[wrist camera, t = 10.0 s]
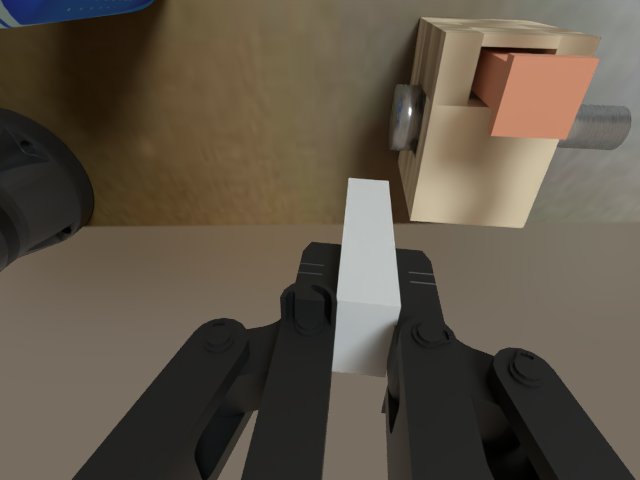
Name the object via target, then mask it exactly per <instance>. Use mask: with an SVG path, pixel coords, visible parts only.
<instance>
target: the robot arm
mask: <svg viewBox="0 0 640 480" xmlns="http://www.w3.org/2000/svg"><path fill="white" fill-rule="evenodd" d="M93 204H94V199H93V192H92V188H91V185H90V182H89V179H88V177H87V175H86V173H85V171H84V169H83V168H82V166H81V164H80V163H79V161H78V160H77V159H76V157H75V156H74V155H73V154H72V152H71V151H70V150H69V149H68V148H67V147H66V146H65V145H64V144H63V143H62V142H61V141H60V140H59V139H58V138H57V137H56V136H54V135H53V134H52V133H51V132H49V131H48V130H47V129H45V128H44V127H42V126H41V125H39V124H38V123H36V122H34V121H32V120H31V119H29V118H27V117H25V116H22V115H20V114H18V113H15V112H12V111H9V110H6V109H2V108H0V271H2V270H3V269H4V268H5V267H7V266H8V265H9V264H10V263H11V262H13V261H14V260H16V259H17V258H19V257H22V256H24V255H27V254H30V253H33V252H35V251H38V250H41V249H43V248H46V247H49V246H51V245H54V244H57V243H60V242H62V241H64V240H66V239H68V238H70V237H71V236H72V235H74V234H75V233H76V232H77V231H78V230H79V229H81V228H82V227H83V226H84V225H85V224H86V223H87V222H88V220H89V219H90V217H91V214H92V211H93ZM435 283H436V282H435V278H434V275H433V269H432V264H431V261H430V260H429V259H428V257H427V256H426V255H425V254H424V253H423V251H419V250H407V249H397V248H395V241H394V231H393V221H392V211H391V201H390V191H389V181H382V180H369V179H356V178H349V181H348V191H347V201H346V210H345V220H344V230H343V239H342V245H339V244H329V243H318V242H311V243H310V244H309V245H308V246H307V247H306V249H305V250H304V251H303V254H302V258H301V262H300V266H299V270H298V274H297V278H296V282H295V283H294V284H292V285H290V286H289V287H287V288H286V289H285V290H284V292H283V293H282V295H281V297H280V302H281V319H280V320H279V321H277V322H275V323H273V324H271V325H267V326H264V327H258V328H252V329H246V328H245V327H244V326H243V324H241V323H240V322H238V321H236V320H234V319H227V318H221V319H215V320H211V321H209V322H207V323H205V324H203V325H201V326H200V327H199V328H198V329H197V330H196V331H195V332H194V333H193V334H192V335H191V337H190V338H189V339H188V340H187V341H186V343H185V344H184V345H183V346H182V347H181V348H180V350H179V351H178V352H177V353H176V355H175V356H174V357H173V358H172V359H171V360H170V362H169V363H168V364H167V365H166V367H165V368H164V369H163V370H162V371H161V373H160V374H159V375H158V376H157V377H156V379H155V380H154V381H153V382H152V384H151V385H150V386H149V387H148V388H147V389H146V391H145V392H144V393H143V394H142V395H141V397H140V398H139V399H138V400H137V401H136V403H135V404H134V405H133V406H132V408H131V409H130V410H129V411H128V412H127V414H126V415H125V416H124V417H123V418H122V420H121V421H120V422H119V423H118V424H117V426H116V427H115V428H114V429H113V430H112V432H111V433H110V434H109V435H108V436H107V438H106V439H105V440H104V441H103V442H102V444H101V445H100V446H99V447H98V448H97V450H96V451H95V452H94V453H93V455H92V456H91V457H90V458H89V459H88V461H87V462H86V463H85V464H84V465H83V467H82V468H81V469H80V470H79V471H78V473H77V474H76V475H75V476H74V478H73V479H72V480H217V479H218V477H219V475H220V473H221V471H222V469H223V468H224V466H225V464H226V462H227V460H228V458H229V456H230V454H231V453H232V451H233V449H234V447H235V445H236V443H237V441H238V439H239V437H240V436H241V434H242V432H243V430H244V428H245V426H246V424H247V423H248V421H249V419H250V417H251V415H252V413H253V411H255V410H259V411H258V416H257V419H256V423H255V427H254V431H253V435H252V439H251V442H250V447H249V451H248V454H247V458H246V462H245V467H244V470H243V474H242V478H241V480H322V475H323V464H324V453H325V442H326V432H327V420H328V410H329V398H330V388H331V376H332V371H334V372H343V373H352V374H360V375H369V376H378V377H385V375H386V370H387V376H388V385H387V389H386V394H385V398H384V402H383V406H382V413H386V434H387V460H388V461H387V462H388V480H635V478H634V477H633V476H632V474H631V473H630V472H629V470H628V469H627V468H626V466H625V465H624V463H623V462H622V461H621V459H620V458H619V457H618V455H617V454H616V453H615V451H614V450H613V449H612V447H611V446H610V445H609V443H608V442H607V441H606V439H605V438H604V437H603V435H602V434H601V433H600V431H599V430H598V429H597V427H596V426H595V425H594V423H593V422H592V421H591V419H590V418H589V417H588V415H587V414H586V413H585V411H584V410H583V408H582V407H581V406H580V404H579V403H578V402H577V400H576V399H575V398H574V396H573V395H572V394H571V392H570V391H569V390H568V388H567V387H566V386H565V384H564V383H563V382H562V380H561V379H560V378H559V376H558V375H557V374H556V372H555V371H554V370H553V369H552V368H551V367H550V365H549V364H548V363H547V362H546V361H545V360H543V359H542V358H540V357H539V356H537V355H535V354H534V353H532V352H529V351H526V350H523V349H521V348H506V349H502V350H500V351H499V352H498V353H497V354H496V355H495V356H493V355H490V354H487V353H484V352H482V351H479V350H476V349H473V348H471V347H469V346H467V345H465V344H463V343H462V342H460V341H459V340H457V339H456V337H455V335H454V333H453V331H452V330H451V329H450V328H449V327H448V326H447V325H446V324H445V322H444V318H443V314H442V309H441V305H440V300H439V296H438V291H437V287H436V285H435Z"/></svg>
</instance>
